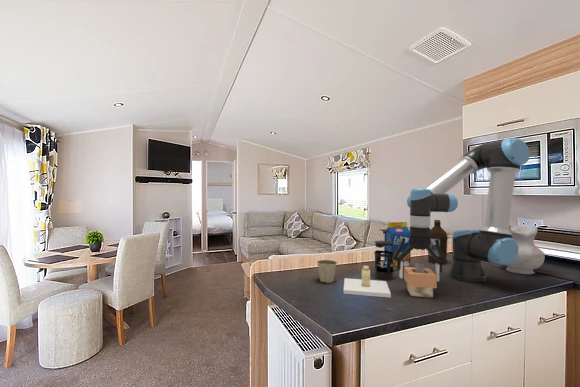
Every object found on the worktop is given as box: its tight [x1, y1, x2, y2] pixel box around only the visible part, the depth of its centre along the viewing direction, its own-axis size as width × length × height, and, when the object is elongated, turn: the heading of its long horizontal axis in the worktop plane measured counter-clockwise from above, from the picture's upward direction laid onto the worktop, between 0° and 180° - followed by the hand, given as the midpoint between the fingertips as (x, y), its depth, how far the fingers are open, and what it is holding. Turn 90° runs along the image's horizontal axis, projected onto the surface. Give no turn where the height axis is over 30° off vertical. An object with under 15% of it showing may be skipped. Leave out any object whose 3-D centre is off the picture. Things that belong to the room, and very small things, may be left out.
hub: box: [343, 265, 392, 299], centre depth 118 cm, size 18×16×10 cm
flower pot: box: [316, 259, 338, 284], centre depth 128 cm, size 9×9×9 cm
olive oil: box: [427, 219, 449, 265], centre depth 165 cm, size 11×11×25 cm
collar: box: [403, 266, 438, 289], centre depth 113 cm, size 10×10×5 cm
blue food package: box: [383, 221, 412, 271], centre depth 151 cm, size 6×12×25 cm, turn 106°
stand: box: [406, 263, 434, 299], centre depth 113 cm, size 8×8×12 cm
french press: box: [373, 228, 395, 281], centre depth 135 cm, size 12×9×23 cm
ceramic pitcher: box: [505, 224, 546, 276], centre depth 146 cm, size 22×20×25 cm
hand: (418, 278), depth 113 cm, fingers open, 13 cm apart
